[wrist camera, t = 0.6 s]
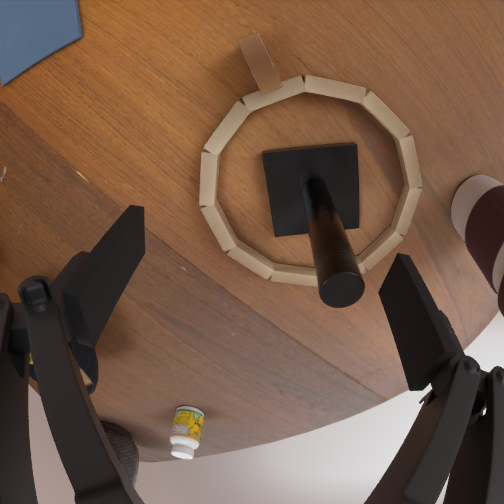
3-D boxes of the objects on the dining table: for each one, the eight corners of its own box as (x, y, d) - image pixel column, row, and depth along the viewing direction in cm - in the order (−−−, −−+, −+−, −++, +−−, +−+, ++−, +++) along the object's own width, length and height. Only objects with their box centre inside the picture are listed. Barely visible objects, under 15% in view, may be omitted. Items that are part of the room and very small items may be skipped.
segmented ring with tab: (145, 93, 23) (125, 98, 19) (363, 9, 17) (378, -1, 14) (255, 297, 34) (252, 323, 31) (425, 243, 29) (440, 265, 26)
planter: (110, 439, 70) (97, 484, 57) (73, 410, 61) (54, 459, 48) (158, 445, 66) (146, 496, 53) (121, 416, 58) (103, 475, 44)
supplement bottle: (172, 404, 50) (162, 448, 42) (199, 405, 50) (191, 452, 42) (182, 416, 53) (173, 458, 45) (207, 418, 52) (200, 461, 44)
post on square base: (262, 151, 25) (251, 231, 14) (354, 142, 24) (424, 213, 12) (275, 231, 29) (273, 348, 18) (356, 223, 28) (402, 332, 17)
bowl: (16, 307, 40) (-12, 348, 32) (41, 256, 33) (0, 305, 25) (89, 367, 47) (69, 411, 38) (134, 335, 40) (111, 393, 31)
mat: (-4, 3, 15) (-8, 3, 14) (73, -53, 13) (70, -54, 12) (5, 85, 21) (1, 86, 20) (83, 37, 19) (80, 37, 19)
